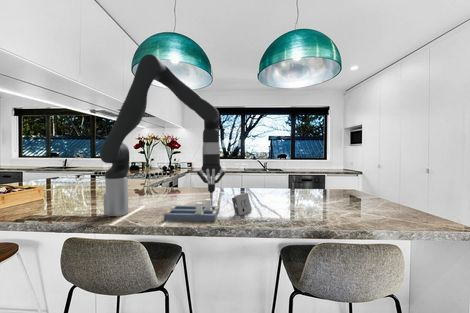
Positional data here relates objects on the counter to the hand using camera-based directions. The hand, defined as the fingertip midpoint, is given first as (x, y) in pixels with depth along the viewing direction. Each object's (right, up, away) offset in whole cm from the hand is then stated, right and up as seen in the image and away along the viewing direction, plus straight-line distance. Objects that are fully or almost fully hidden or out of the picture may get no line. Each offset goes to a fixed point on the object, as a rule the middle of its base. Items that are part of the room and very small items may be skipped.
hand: (211, 192), depth 100 cm
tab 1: (-6, -10, +1) cm, 12 cm away
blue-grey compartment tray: (-9, -11, +5) cm, 15 cm away
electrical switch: (+13, -11, +9) cm, 20 cm away
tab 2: (-2, -10, +7) cm, 13 cm away
